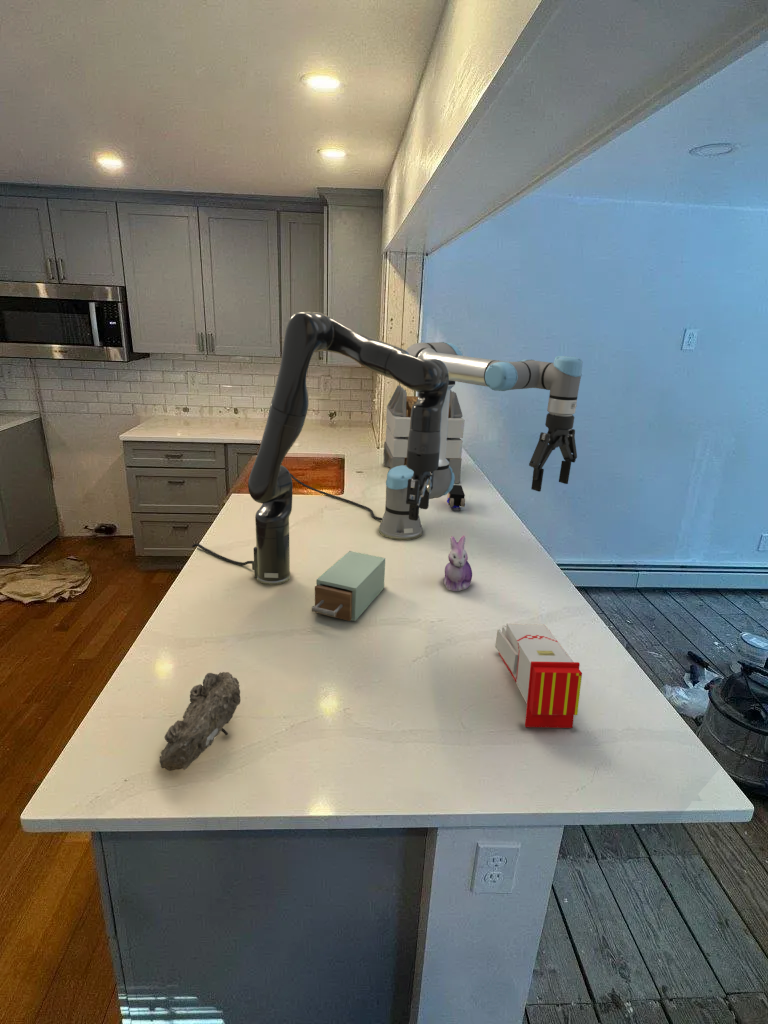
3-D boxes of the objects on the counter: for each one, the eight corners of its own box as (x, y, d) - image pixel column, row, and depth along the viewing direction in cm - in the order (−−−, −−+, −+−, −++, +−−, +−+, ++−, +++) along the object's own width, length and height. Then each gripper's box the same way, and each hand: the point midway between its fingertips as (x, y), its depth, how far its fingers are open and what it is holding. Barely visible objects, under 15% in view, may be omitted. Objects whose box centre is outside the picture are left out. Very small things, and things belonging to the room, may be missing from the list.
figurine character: (465, 515, 224) (460, 499, 237) (467, 498, 221) (462, 483, 234) (448, 515, 224) (444, 499, 237) (450, 498, 220) (445, 482, 234)
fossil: (187, 673, 113) (240, 640, 108) (220, 704, 116) (274, 673, 111) (134, 764, 94) (196, 730, 89) (175, 799, 97) (237, 767, 92)
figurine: (453, 595, 158) (458, 546, 153) (434, 580, 167) (437, 532, 161) (481, 589, 162) (486, 541, 157) (460, 574, 171) (465, 528, 166)
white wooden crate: (382, 463, 289) (386, 382, 275) (445, 464, 293) (451, 384, 279) (390, 482, 257) (394, 392, 243) (460, 483, 261) (468, 394, 247)
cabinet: (355, 621, 143) (356, 588, 140) (316, 611, 147) (316, 579, 144) (384, 588, 161) (385, 557, 158) (348, 580, 164) (349, 550, 161)
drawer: (340, 631, 137) (341, 604, 134) (304, 622, 140) (304, 595, 137) (377, 589, 158) (378, 565, 155) (345, 582, 161) (346, 558, 158)
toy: (542, 608, 134) (591, 669, 104) (537, 660, 136) (583, 734, 107) (491, 607, 133) (526, 668, 104) (487, 660, 136) (520, 733, 107)
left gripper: (416, 440, 139) (412, 503, 144) (398, 452, 126) (394, 521, 131) (446, 444, 136) (441, 507, 142) (431, 457, 124) (425, 526, 129)
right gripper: (545, 420, 148) (534, 497, 155) (596, 412, 163) (584, 483, 170) (522, 415, 153) (512, 490, 160) (573, 408, 169) (563, 476, 176)
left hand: (418, 514), depth 137 cm, fingers open, 8 cm apart
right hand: (549, 486), depth 165 cm, fingers open, 13 cm apart
